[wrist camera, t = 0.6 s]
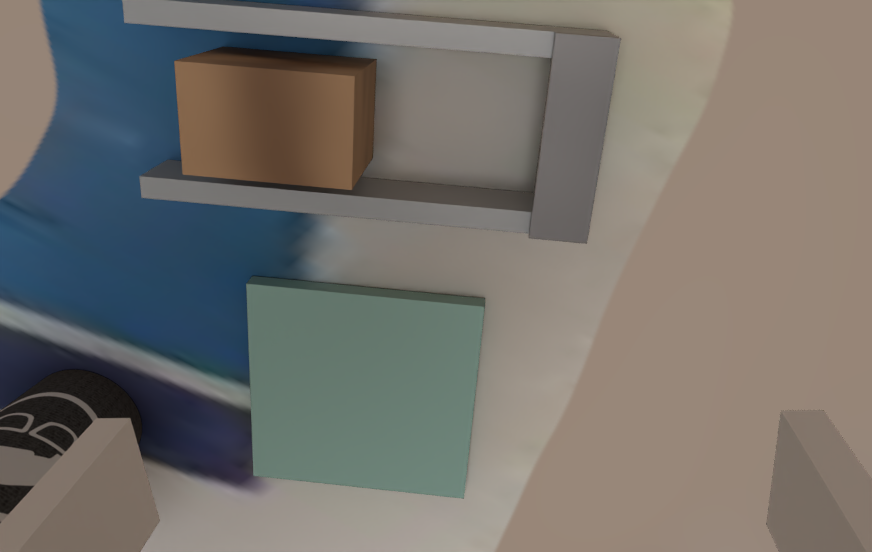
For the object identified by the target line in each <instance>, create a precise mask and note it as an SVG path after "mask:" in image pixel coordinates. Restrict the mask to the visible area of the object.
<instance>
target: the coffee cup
mask: <svg viewBox="0 0 872 552" xmlns="http://www.w3.org/2000/svg"><path fill="white" fill-rule="evenodd" d="M96 418H130V419H131V422H132V426H133V429H134V433H135V436H136V440H137V443H138V444H139V441H140V439H141V434H142V423H141V418H140V415H139V412H138V410H137V408H136V406H135V404H134V402H133V401H132V400H131V398H130V397H129V396H128V395H127V393H126V392H125V391H124V390H122V389H121V388H120V387H119V386H118V385H116V384H115V383H114V382H112V381H110V380H109V379H107V378H105V377H103V376H101V375H98V374H96V373H92V372H89V371H84V370H63V371H59V372H56V373H53V374H51V375H49V376H47V377H46V378H44V379H43V380H42V381H40V382H39V383H37V384H36V385H35V386H33V387H32V388H31V389H29V390H28V391H26V392H25V393H24V394H22V395H21V396H20V397H18V398H17V399H16V400H14V401H13V402H11V403H10V404H9V405H7V406H6V407H5V408H3V409H2V410H1V411H0V523H1V522H2V521H3V520H4V519H5V518H6V517H7V515H8V514H9V513H10V512H11V511H12V510H13V509H14V508H15V507H16V506H17V505H18V503H19V502H20V501H21V500H22V499H23V498H24V497H25V496H26V495H27V494H28V493H29V491H30V490H31V489H32V488H33V487H34V486H35V485H36V484H37V483H38V482H39V481H40V479H41V478H42V477H43V476H44V475H45V474H46V473H47V472H48V471H49V470H50V468H51V467H52V466H53V465H54V464H55V463H56V462H57V461H58V460H59V459H60V458H61V456H62V455H63V454H64V453H65V452H66V451H67V450H68V449H69V448H70V447H71V446H72V444H73V443H74V442H75V441H76V440H77V439H78V438H79V437H80V436H81V435H82V434H83V432H84V431H85V430H86V429H87V428H88V427H89V426H90V425H91V424H92V423H93V421H94V420H95V419H96Z"/></svg>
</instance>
